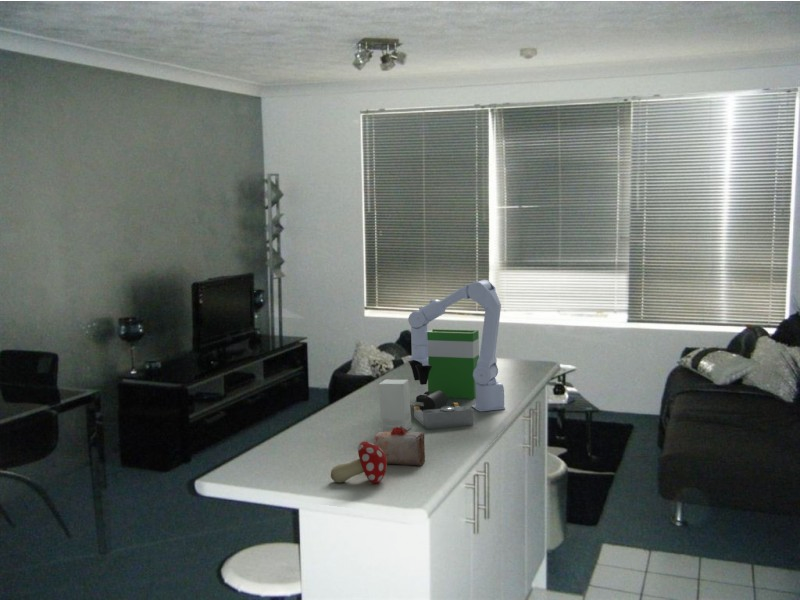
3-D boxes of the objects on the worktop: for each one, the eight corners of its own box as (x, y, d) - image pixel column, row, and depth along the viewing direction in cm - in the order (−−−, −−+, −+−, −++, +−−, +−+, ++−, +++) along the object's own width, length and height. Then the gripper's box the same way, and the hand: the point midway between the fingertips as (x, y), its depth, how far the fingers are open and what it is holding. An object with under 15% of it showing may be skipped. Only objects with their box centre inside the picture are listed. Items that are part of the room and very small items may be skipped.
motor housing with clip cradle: (456, 413, 270) (456, 396, 270) (473, 424, 255) (472, 407, 254) (414, 417, 267) (413, 400, 266) (428, 429, 251) (427, 412, 251)
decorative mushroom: (318, 451, 203) (373, 430, 201) (333, 462, 212) (385, 442, 211) (329, 493, 197) (385, 471, 196) (343, 502, 207) (397, 481, 205)
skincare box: (411, 427, 254) (410, 379, 252) (405, 433, 248) (403, 383, 246) (387, 426, 257) (385, 378, 255) (379, 431, 251) (378, 382, 249)
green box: (428, 396, 297) (426, 332, 294) (434, 391, 304) (433, 329, 301) (474, 398, 290) (472, 333, 288) (479, 394, 297) (478, 330, 294)
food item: (372, 465, 218) (371, 430, 217) (380, 456, 225) (379, 422, 224) (421, 468, 214) (420, 432, 213) (427, 459, 222) (426, 424, 221)
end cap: (434, 416, 267) (434, 397, 266) (415, 414, 270) (415, 395, 270) (447, 410, 276) (447, 390, 275) (428, 408, 279) (428, 389, 278)
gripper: (403, 342, 289) (404, 379, 291) (414, 348, 275) (415, 387, 277) (422, 340, 291) (422, 377, 292) (433, 347, 277) (434, 385, 278)
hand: (420, 382), depth 285 cm, fingers open, 7 cm apart
